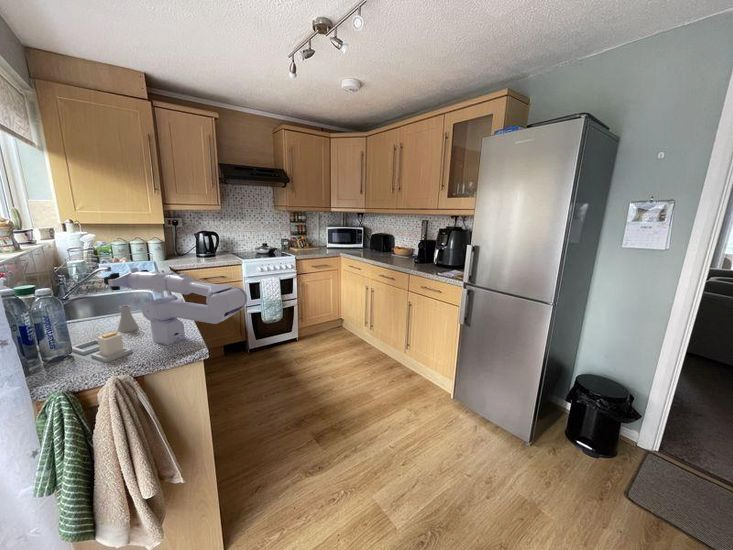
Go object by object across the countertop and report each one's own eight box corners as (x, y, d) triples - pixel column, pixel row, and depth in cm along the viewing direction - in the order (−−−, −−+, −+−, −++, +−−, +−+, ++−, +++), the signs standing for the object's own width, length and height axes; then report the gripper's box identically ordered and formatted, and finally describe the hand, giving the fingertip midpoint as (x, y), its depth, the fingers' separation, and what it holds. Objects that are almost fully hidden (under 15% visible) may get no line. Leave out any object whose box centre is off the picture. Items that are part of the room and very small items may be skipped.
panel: (138, 354, 94) (137, 347, 94) (100, 369, 85) (99, 361, 85) (103, 344, 101) (102, 337, 100) (64, 357, 92) (63, 349, 91)
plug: (124, 353, 92) (120, 332, 90) (108, 359, 88) (105, 337, 87) (115, 350, 93) (112, 330, 92) (100, 356, 89) (96, 335, 88)
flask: (137, 327, 115) (134, 302, 113) (143, 332, 111) (140, 306, 109) (113, 333, 110) (109, 306, 108) (118, 338, 105) (114, 311, 103)
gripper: (165, 266, 107) (138, 265, 111) (120, 270, 93) (91, 269, 98) (167, 285, 108) (140, 284, 112) (123, 293, 94) (94, 291, 99)
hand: (117, 278), depth 105 cm, fingers open, 7 cm apart
